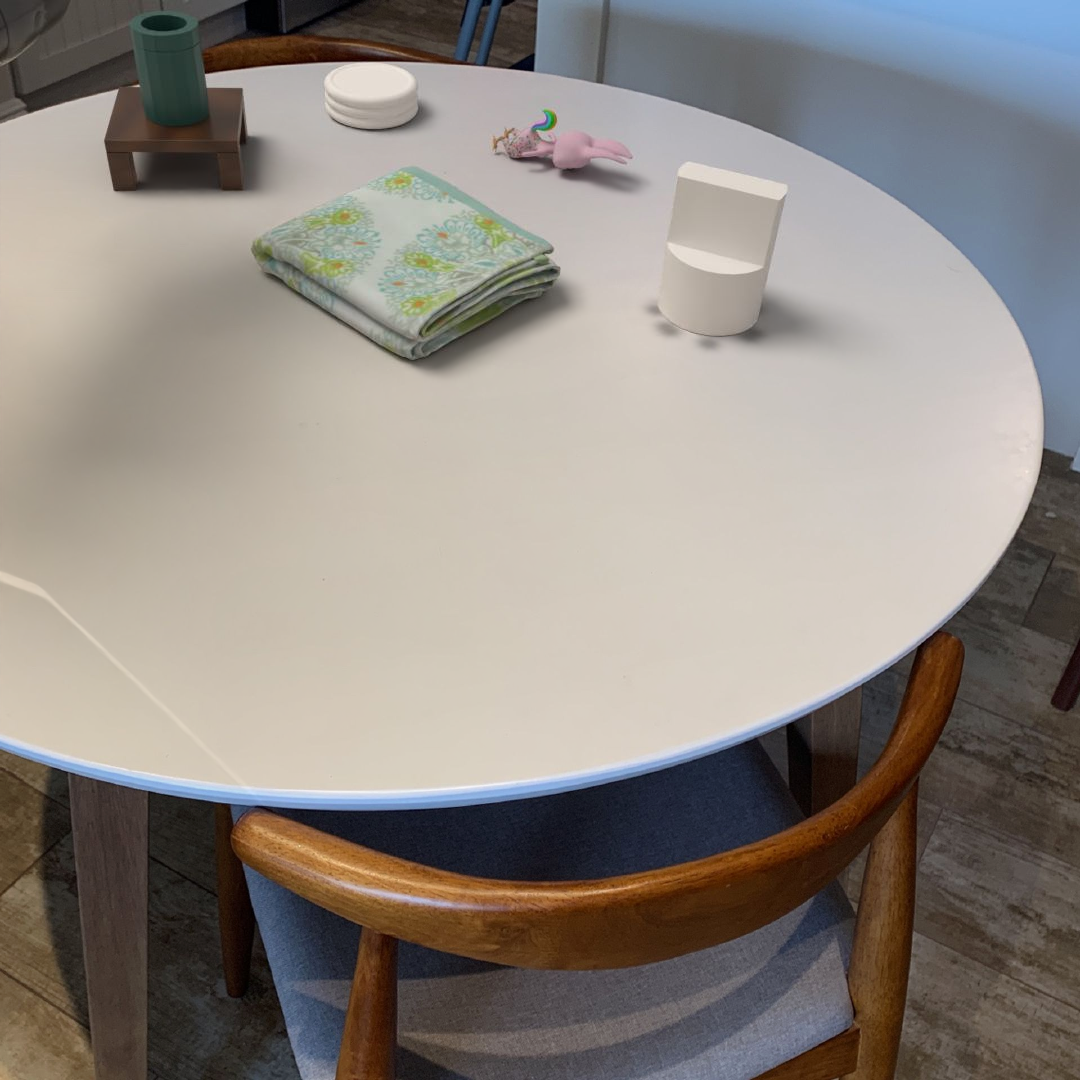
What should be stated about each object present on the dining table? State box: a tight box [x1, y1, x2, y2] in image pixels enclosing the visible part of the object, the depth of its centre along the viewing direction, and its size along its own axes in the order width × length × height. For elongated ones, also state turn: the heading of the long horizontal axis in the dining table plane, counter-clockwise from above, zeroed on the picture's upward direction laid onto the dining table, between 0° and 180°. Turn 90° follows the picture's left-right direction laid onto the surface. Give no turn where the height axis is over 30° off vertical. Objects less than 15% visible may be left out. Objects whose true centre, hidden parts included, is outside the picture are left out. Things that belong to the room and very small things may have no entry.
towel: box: [250, 165, 561, 361], centre depth 102 cm, size 18×21×5 cm
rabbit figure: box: [491, 108, 634, 171], centre depth 120 cm, size 6×6×15 cm
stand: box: [103, 86, 249, 191], centre depth 115 cm, size 12×12×5 cm
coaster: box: [323, 62, 419, 130], centre depth 127 cm, size 10×10×4 cm
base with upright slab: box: [657, 160, 789, 337], centre depth 100 cm, size 9×9×12 cm
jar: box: [129, 10, 209, 126], centre depth 111 cm, size 6×6×8 cm
